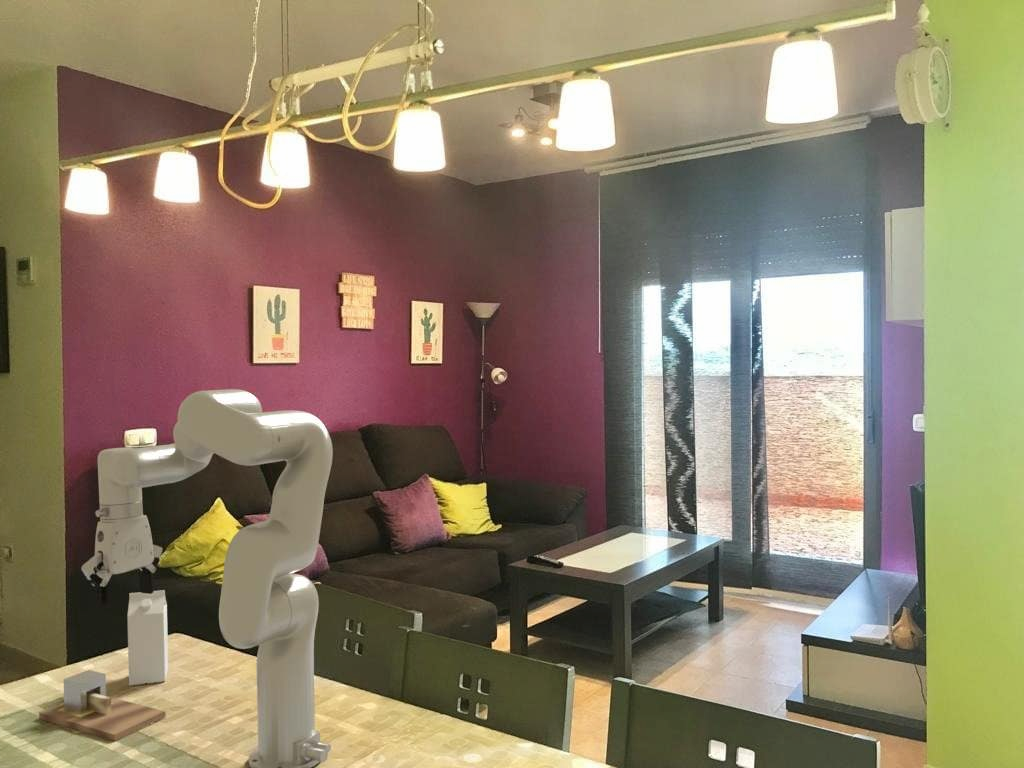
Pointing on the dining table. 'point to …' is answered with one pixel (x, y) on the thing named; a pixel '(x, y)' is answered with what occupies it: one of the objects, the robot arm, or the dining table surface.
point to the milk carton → (147, 637)
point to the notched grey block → (82, 690)
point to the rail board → (105, 716)
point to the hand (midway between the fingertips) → (125, 599)
